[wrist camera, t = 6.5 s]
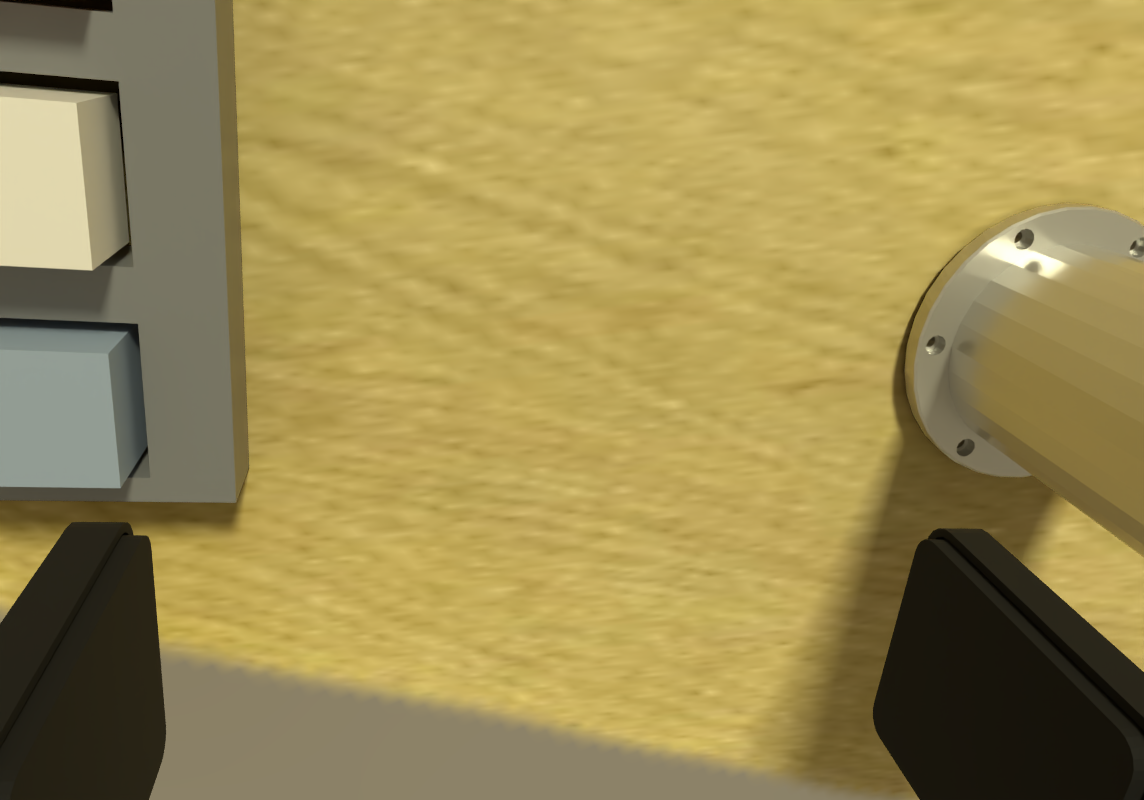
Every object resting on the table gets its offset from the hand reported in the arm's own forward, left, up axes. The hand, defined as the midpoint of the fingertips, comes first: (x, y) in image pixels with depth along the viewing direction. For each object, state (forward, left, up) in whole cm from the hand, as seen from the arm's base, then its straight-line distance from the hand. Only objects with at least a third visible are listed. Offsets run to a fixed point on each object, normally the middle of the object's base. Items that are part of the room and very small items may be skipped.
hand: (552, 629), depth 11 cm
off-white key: (+14, -1, -25) cm, 28 cm away
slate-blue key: (+14, +7, -26) cm, 30 cm away
